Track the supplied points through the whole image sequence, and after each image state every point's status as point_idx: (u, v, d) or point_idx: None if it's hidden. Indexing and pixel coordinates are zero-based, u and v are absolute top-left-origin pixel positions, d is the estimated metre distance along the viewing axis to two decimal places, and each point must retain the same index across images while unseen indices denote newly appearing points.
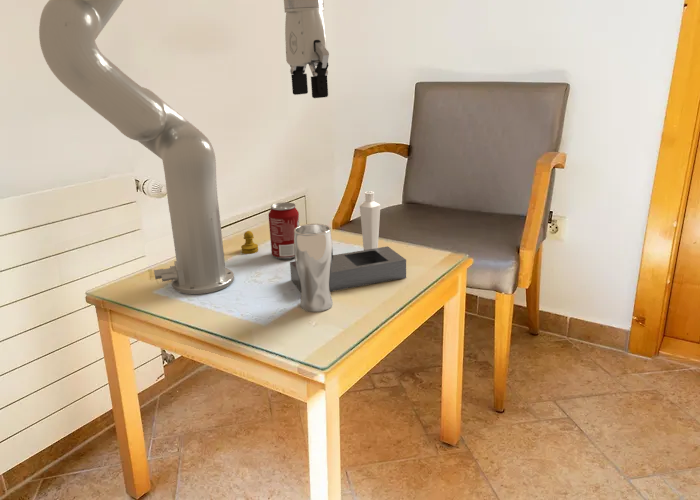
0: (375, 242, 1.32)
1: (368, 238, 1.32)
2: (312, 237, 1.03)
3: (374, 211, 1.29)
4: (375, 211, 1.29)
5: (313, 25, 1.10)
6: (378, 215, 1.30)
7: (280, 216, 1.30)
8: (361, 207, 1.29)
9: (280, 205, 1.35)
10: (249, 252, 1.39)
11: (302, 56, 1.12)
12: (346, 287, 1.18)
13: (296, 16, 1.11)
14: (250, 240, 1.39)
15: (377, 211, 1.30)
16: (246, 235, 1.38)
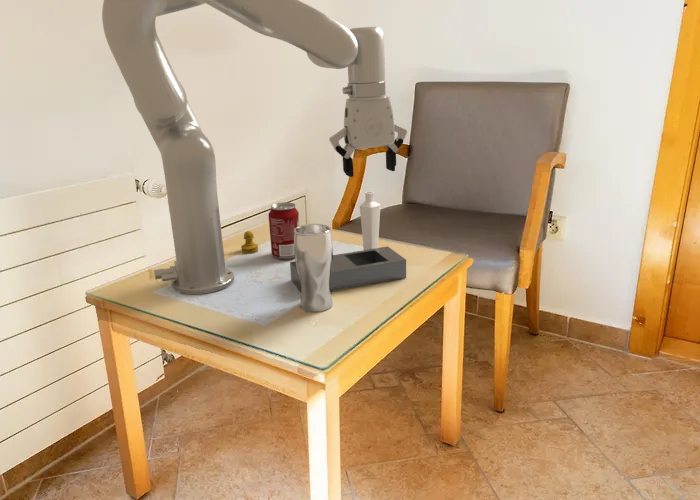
0: (375, 242, 1.32)
1: (368, 238, 1.32)
2: (312, 237, 1.03)
3: (374, 211, 1.29)
4: (375, 211, 1.29)
5: None
6: (378, 215, 1.30)
7: (280, 216, 1.30)
8: (361, 207, 1.29)
9: (280, 205, 1.35)
10: (249, 252, 1.39)
11: (391, 136, 1.24)
12: (346, 287, 1.18)
13: (382, 103, 1.21)
14: (250, 240, 1.39)
15: (377, 211, 1.30)
16: (246, 235, 1.38)
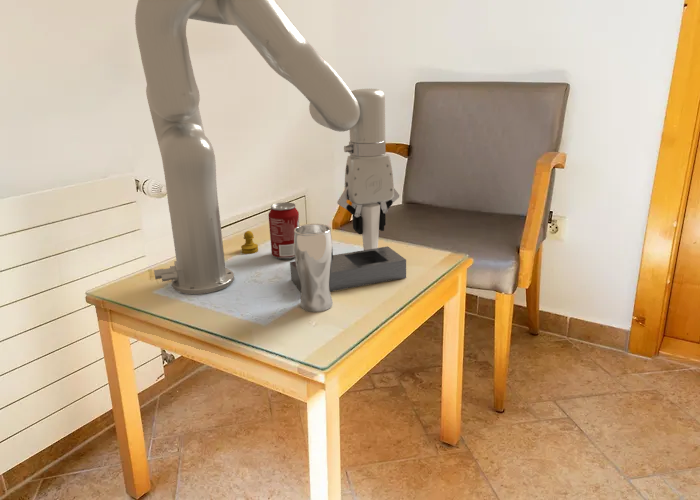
0: (375, 242, 1.32)
1: (368, 238, 1.32)
2: (312, 237, 1.03)
3: (374, 211, 1.29)
4: (375, 211, 1.29)
5: None
6: (378, 215, 1.30)
7: (280, 216, 1.30)
8: (361, 207, 1.29)
9: (280, 205, 1.35)
10: (249, 252, 1.39)
11: (390, 192, 1.28)
12: (346, 287, 1.18)
13: (382, 161, 1.25)
14: (250, 240, 1.39)
15: (377, 211, 1.30)
16: (246, 235, 1.38)
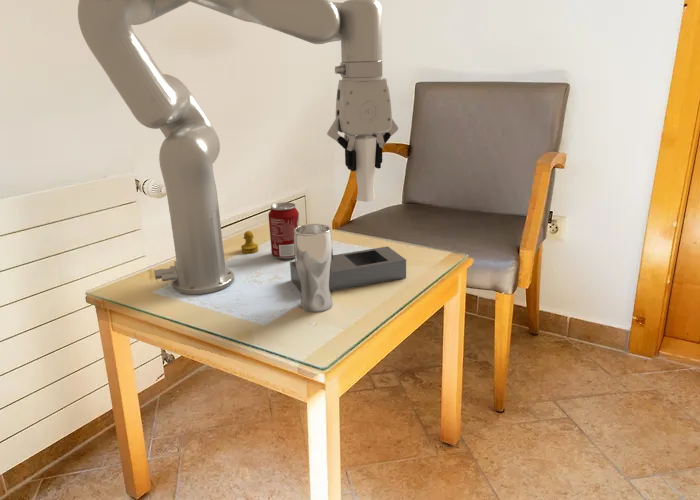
0: (370, 181, 1.16)
1: (362, 176, 1.16)
2: (312, 237, 1.03)
3: (370, 144, 1.13)
4: (370, 145, 1.13)
5: None
6: (374, 149, 1.15)
7: (280, 216, 1.30)
8: None
9: (280, 205, 1.35)
10: (249, 252, 1.39)
11: (387, 122, 1.12)
12: (346, 287, 1.18)
13: (379, 84, 1.10)
14: (250, 240, 1.39)
15: (373, 144, 1.14)
16: (246, 235, 1.38)
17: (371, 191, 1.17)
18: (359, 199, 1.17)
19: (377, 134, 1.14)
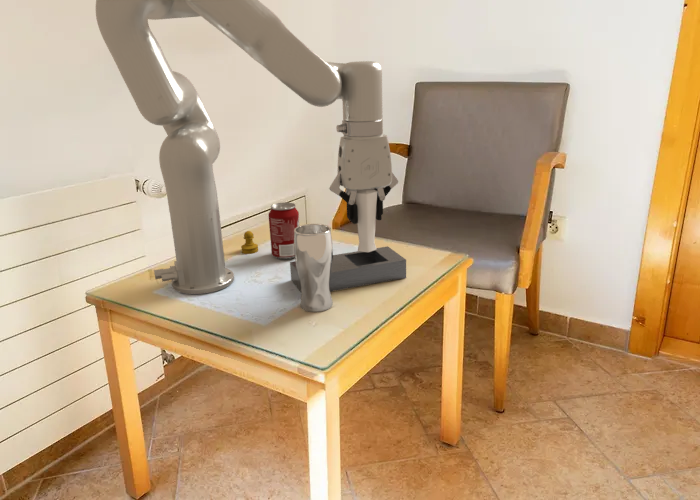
0: (371, 233, 1.20)
1: (363, 228, 1.19)
2: (312, 237, 1.03)
3: (371, 198, 1.17)
4: (371, 198, 1.17)
5: None
6: (375, 202, 1.18)
7: (280, 216, 1.30)
8: (356, 194, 1.17)
9: (280, 205, 1.35)
10: (249, 252, 1.39)
11: (388, 177, 1.16)
12: (346, 287, 1.18)
13: (379, 142, 1.13)
14: (250, 240, 1.39)
15: (374, 198, 1.17)
16: (246, 235, 1.38)
17: (372, 242, 1.21)
18: (360, 250, 1.21)
19: (378, 188, 1.17)
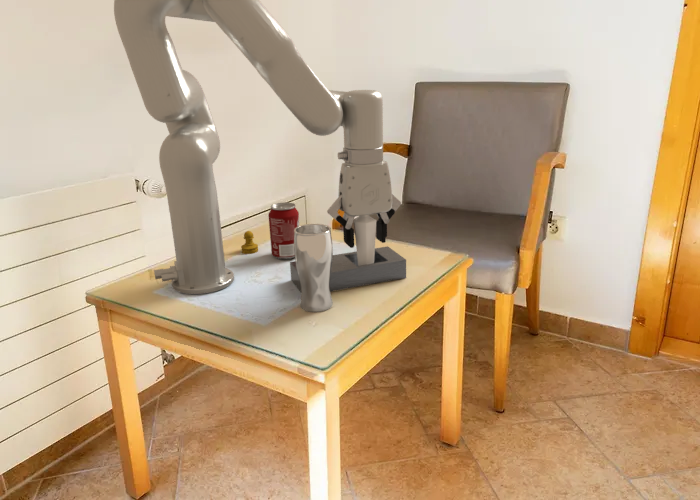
0: (371, 260, 1.22)
1: (363, 256, 1.21)
2: (312, 237, 1.03)
3: (370, 226, 1.19)
4: (370, 227, 1.19)
5: None
6: (374, 231, 1.20)
7: (280, 216, 1.30)
8: (355, 222, 1.19)
9: (280, 205, 1.35)
10: (249, 252, 1.39)
11: (388, 203, 1.18)
12: (346, 287, 1.18)
13: (379, 169, 1.15)
14: (250, 240, 1.39)
15: (373, 227, 1.19)
16: (246, 235, 1.38)
17: None
18: None
19: (380, 212, 1.19)
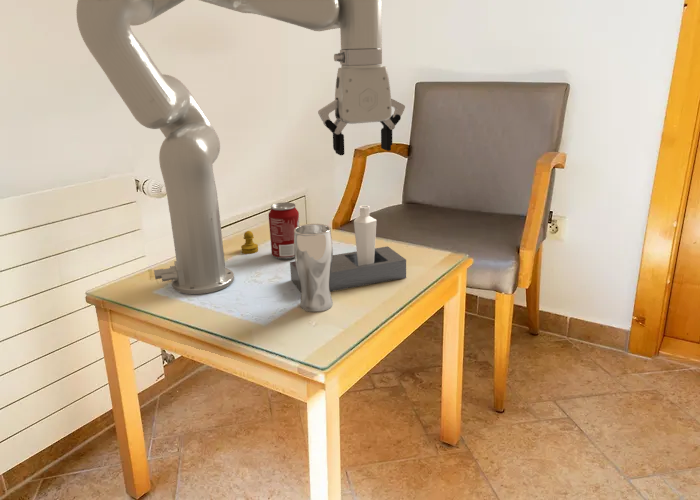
0: (371, 260, 1.22)
1: (363, 256, 1.21)
2: (312, 237, 1.03)
3: (370, 226, 1.19)
4: (370, 227, 1.19)
5: None
6: (374, 231, 1.20)
7: (280, 216, 1.30)
8: (355, 222, 1.19)
9: (280, 205, 1.35)
10: (249, 252, 1.39)
11: (387, 111, 1.12)
12: (346, 287, 1.18)
13: (378, 72, 1.09)
14: (250, 240, 1.39)
15: (373, 227, 1.19)
16: (246, 235, 1.38)
17: None
18: None
19: None
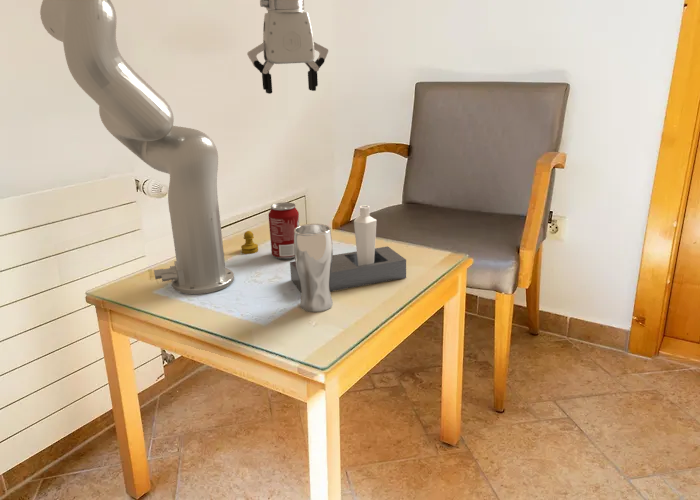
0: (371, 260, 1.22)
1: (363, 256, 1.21)
2: (312, 237, 1.03)
3: (370, 226, 1.19)
4: (370, 227, 1.19)
5: None
6: (374, 231, 1.20)
7: (280, 216, 1.30)
8: (355, 222, 1.19)
9: (280, 205, 1.35)
10: (249, 252, 1.39)
11: (310, 53, 1.24)
12: (346, 287, 1.18)
13: (300, 17, 1.21)
14: (250, 240, 1.39)
15: (373, 227, 1.19)
16: (246, 235, 1.38)
17: None
18: None
19: (308, 61, 1.26)
